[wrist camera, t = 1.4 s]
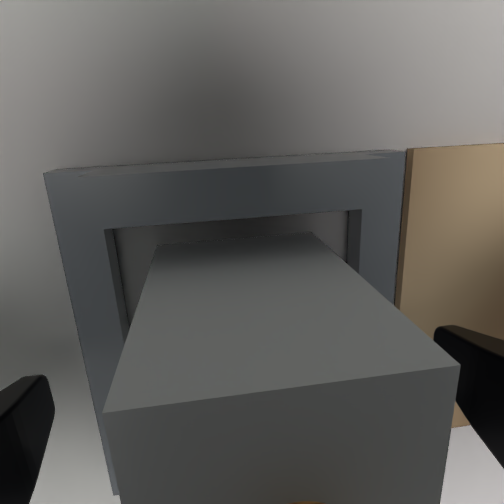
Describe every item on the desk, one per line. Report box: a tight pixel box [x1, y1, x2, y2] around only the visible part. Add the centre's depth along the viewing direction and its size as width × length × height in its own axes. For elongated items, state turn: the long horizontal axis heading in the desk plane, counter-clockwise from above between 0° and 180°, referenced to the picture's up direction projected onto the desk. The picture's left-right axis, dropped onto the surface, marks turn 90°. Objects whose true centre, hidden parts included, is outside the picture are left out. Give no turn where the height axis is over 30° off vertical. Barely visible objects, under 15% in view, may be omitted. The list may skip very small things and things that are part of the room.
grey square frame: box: [43, 150, 406, 495], centre depth 10 cm, size 8×9×2 cm
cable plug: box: [102, 232, 461, 504], centre depth 7 cm, size 4×5×7 cm
